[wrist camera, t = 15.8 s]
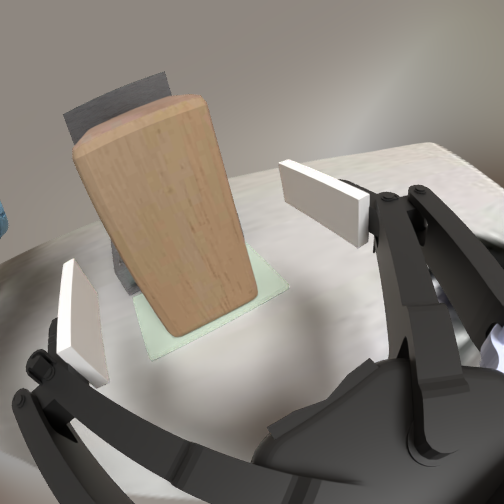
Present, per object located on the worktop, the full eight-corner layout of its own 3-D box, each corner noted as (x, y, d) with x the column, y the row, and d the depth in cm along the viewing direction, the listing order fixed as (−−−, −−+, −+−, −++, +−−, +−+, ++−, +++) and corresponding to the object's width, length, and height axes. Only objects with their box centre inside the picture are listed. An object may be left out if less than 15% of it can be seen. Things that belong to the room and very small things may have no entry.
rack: (129, 295, 34) (40, 119, 20) (118, 238, 47) (63, 114, 32) (244, 238, 39) (194, 56, 24) (202, 198, 51) (163, 71, 37)
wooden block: (225, 251, 36) (175, 93, 24) (263, 298, 29) (207, 89, 17) (153, 286, 34) (80, 133, 22) (174, 344, 26) (65, 148, 14)
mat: (151, 361, 26) (149, 358, 25) (134, 301, 33) (132, 297, 33) (289, 288, 30) (288, 284, 30) (246, 245, 37) (245, 241, 37)
